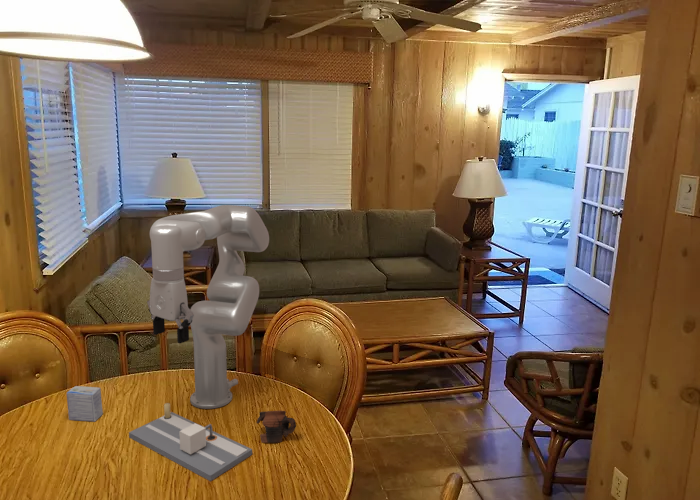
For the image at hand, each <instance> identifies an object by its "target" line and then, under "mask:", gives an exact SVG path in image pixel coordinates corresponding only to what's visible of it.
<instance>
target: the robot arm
mask: <svg viewBox="0 0 700 500" xmlns="http://www.w3.org/2000/svg"><path fill="white" fill-rule="evenodd" d="M265 225H266V224H265V223H264V221H263V219H262V218H261V216H260V214H259V213H258V212H257V211H256V210H255V209H254V208H253V207H252V206H248V205H247V206H246V205H235V204H233V205H232V204H221V205H217V206H214V207H212V208H209V209H206V210H202V211H201V210H200V211H194V212H187V213H181V214H173V215H168V216H165V217H162V218H159V219H157V220H155V221H154V222H153V224H152V225H151V226H150V230H149V239H150V241H151V264H152V265H151V266H152V267H151V268H152V278H151V280H150V281H151V282H150V288H149V289H150V290H149V300H147V301H146V303H147V305H148V311H149V313H150V315H151V316H150V318H151V320H152V331H153V332H152V333H153V335H155V336H156V335H160V334H162V333H165V331H166V327H165V325H166V324H165V320H166V321H168V322H169V321H170V322H175V323H176V325H177V329H176V332H177V333H176V337H177V340H176V341H177V343H178V344H182V343H185V342H188V341H189V340H190V333H189V332H190V331H189V330H190V329H191V334H192V339H193V340H192V341H193V360H194V361H193V363H194V389H195V391H194V392H193V393H192V394H191V395H190V399H189V401H190V404H191V405H192V406H193V407H195V408H198V409H202V410H203V409H204V410H205V409H206V410H208V409H210V410H211V409H212V410H213V409H217V408H222V407H224V406H226V405H227V404H228V405H229V403H230V402H231V401H232V400H233V392H232V391H231V389H232V387H234V386H236V385H238V384H239V380H238V378H233V379H231V380H230V379H229V378H228V373H227V370H228V369H227V367H228V366H227V344H226V340H225V338H224V336H225V335H226V336H234V337H235V336H237V337H238V336H241V335H242V334H243V333H245V332H246V330H247V328H248V325H249V323H250V321H251V319H252V316H253V315H254V314H253V313H254V310H255V308H256V306H257V304H258V301H259V296H260V285H259V282H258V280H257V279H255V278H254V277H252V276H247V275H244V274H245V270H246V268H245V263H244V261H243V260H242V257H241V256H240V255H239V254H238V251H239V252H249V253H253V252H254V253H261V252H264V251H266V249H267V248H268V246H269V243H270V235H269V231H268V229H267V226H265ZM213 239H214V240H215V239H216V242H217V243H216V244H217V248H218V249H217V250H218V259H219V262H218V265H217V267H216V269H215V271H214V273H213V276H212V278H211V280H210V282H209V283H208V286H207V289H206V297H207V299H208V300H201V301H197V302H195V303H193V305H192V306H191V307H190V308H189V303H188V295H187V294H188V292H187V287H186V282H185V275H184V274H185V272H184V271H185V270H184V252H186V251H187V252H188V251H194V250H198V249H199V248H201V247H202V246H203V245H204V243H205V241H208V240H213ZM181 320H182V321H181ZM189 327H190V329H189Z"/></svg>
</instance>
